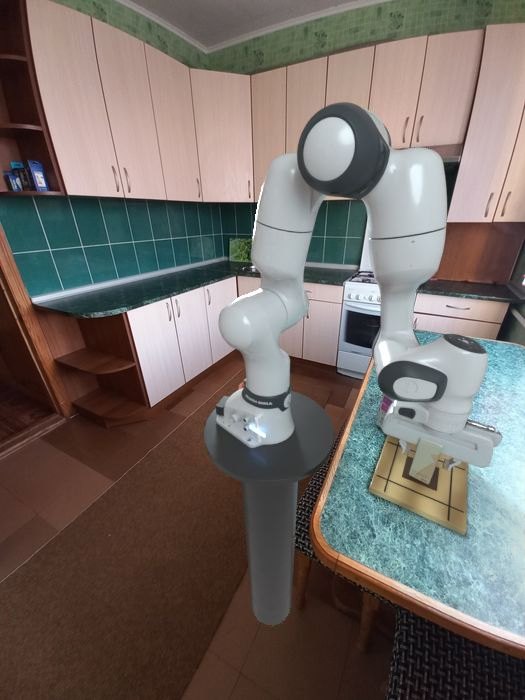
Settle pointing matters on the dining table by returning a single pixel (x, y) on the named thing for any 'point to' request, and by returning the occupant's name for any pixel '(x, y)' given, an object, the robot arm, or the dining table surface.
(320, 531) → the dining table surface
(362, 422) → the dining table surface
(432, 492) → the board
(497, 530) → the dining table surface
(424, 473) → the box
